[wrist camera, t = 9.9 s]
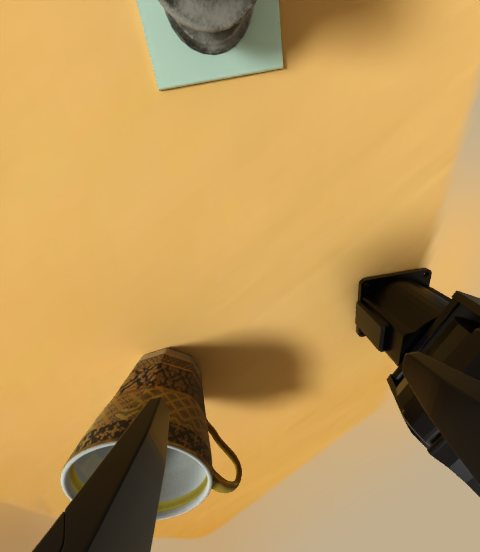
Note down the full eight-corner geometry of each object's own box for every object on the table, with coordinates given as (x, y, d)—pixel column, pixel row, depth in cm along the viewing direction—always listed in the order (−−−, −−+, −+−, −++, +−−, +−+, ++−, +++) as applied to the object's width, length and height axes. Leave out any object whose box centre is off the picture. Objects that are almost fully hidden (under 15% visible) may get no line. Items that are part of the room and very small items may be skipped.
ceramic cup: (108, 390, 26) (46, 511, 17) (136, 320, 22) (78, 424, 13) (217, 419, 29) (215, 534, 20) (256, 361, 26) (275, 468, 17)
